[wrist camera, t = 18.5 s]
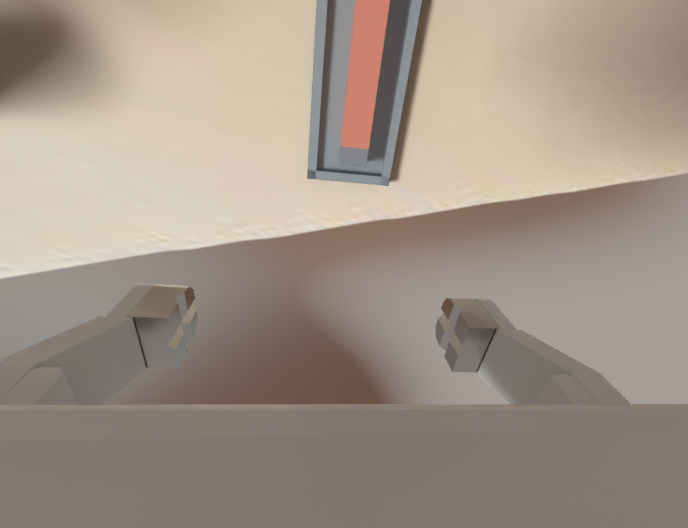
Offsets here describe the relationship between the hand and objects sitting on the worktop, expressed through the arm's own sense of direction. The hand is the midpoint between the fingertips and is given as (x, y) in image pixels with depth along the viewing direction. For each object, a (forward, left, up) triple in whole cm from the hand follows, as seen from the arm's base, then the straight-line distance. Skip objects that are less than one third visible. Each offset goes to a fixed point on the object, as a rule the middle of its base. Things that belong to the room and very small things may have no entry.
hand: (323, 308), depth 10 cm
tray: (+4, +9, -31) cm, 33 cm away
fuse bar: (+4, +8, -30) cm, 32 cm away
